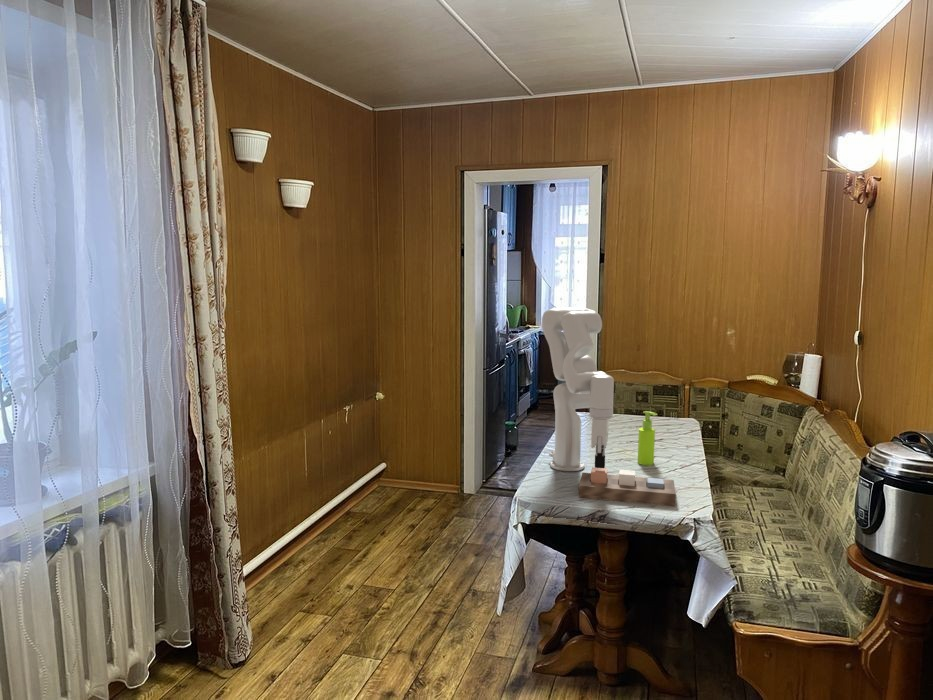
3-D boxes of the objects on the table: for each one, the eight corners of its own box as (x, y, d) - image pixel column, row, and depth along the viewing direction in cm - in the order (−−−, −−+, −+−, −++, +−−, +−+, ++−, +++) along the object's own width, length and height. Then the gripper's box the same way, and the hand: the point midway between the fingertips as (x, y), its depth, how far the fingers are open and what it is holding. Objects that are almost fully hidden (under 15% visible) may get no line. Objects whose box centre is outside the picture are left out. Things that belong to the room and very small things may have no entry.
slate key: (647, 494, 215) (647, 482, 214) (647, 489, 220) (647, 477, 219) (663, 495, 214) (663, 483, 213) (662, 490, 218) (663, 479, 218)
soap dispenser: (649, 466, 249) (651, 414, 246) (634, 462, 254) (636, 411, 252) (659, 464, 252) (661, 412, 250) (644, 459, 258) (646, 409, 255)
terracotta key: (590, 483, 219) (591, 471, 219) (591, 478, 224) (592, 467, 223) (606, 484, 218) (606, 473, 217) (606, 480, 223) (607, 468, 222)
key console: (578, 497, 216) (578, 485, 216) (582, 483, 230) (582, 472, 229) (675, 506, 209) (675, 494, 208) (673, 491, 222) (673, 480, 222)
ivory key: (618, 486, 217) (619, 474, 216) (619, 481, 222) (619, 469, 221) (634, 487, 216) (635, 475, 215) (634, 482, 220) (635, 470, 220)
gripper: (591, 407, 226) (589, 460, 228) (587, 416, 212) (586, 473, 214) (613, 408, 224) (612, 461, 226) (611, 418, 210) (610, 474, 212)
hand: (599, 467), depth 220 cm, fingers closed
